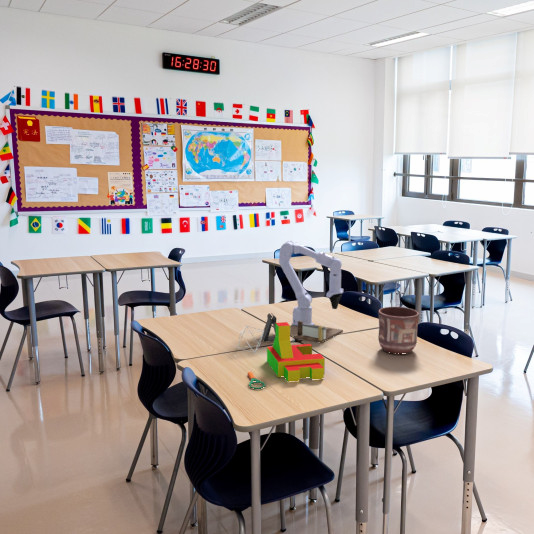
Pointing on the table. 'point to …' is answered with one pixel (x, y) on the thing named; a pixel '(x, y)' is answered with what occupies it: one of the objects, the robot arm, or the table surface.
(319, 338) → the post
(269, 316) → the phone stand
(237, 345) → the geometric polyhedron
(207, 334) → the table surface
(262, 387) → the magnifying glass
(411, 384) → the table surface
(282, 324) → the building blocks toy
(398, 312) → the pottery
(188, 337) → the table surface
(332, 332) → the brown wooden board
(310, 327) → the panel
